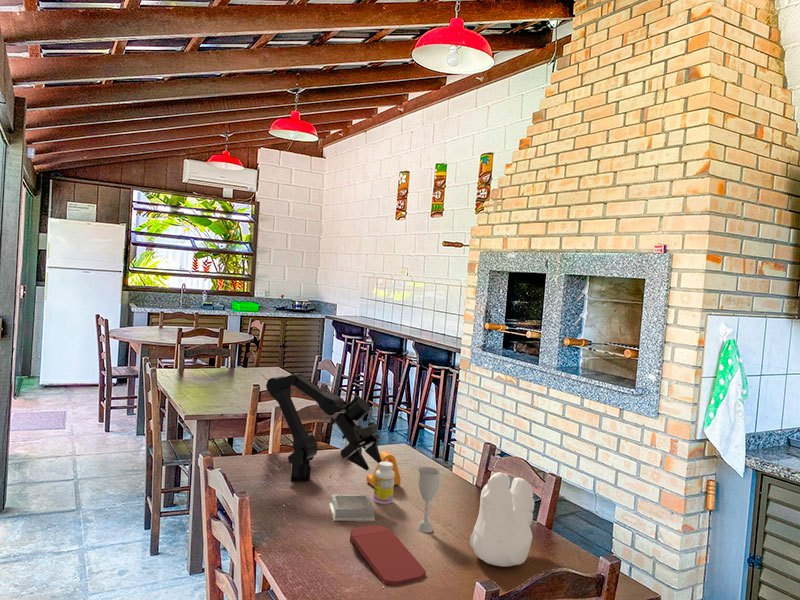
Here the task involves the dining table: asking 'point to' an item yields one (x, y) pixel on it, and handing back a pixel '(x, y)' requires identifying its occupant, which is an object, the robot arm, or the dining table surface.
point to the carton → (386, 555)
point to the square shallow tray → (351, 508)
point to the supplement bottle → (384, 483)
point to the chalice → (428, 493)
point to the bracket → (390, 458)
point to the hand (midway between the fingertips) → (374, 466)
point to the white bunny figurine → (504, 521)
